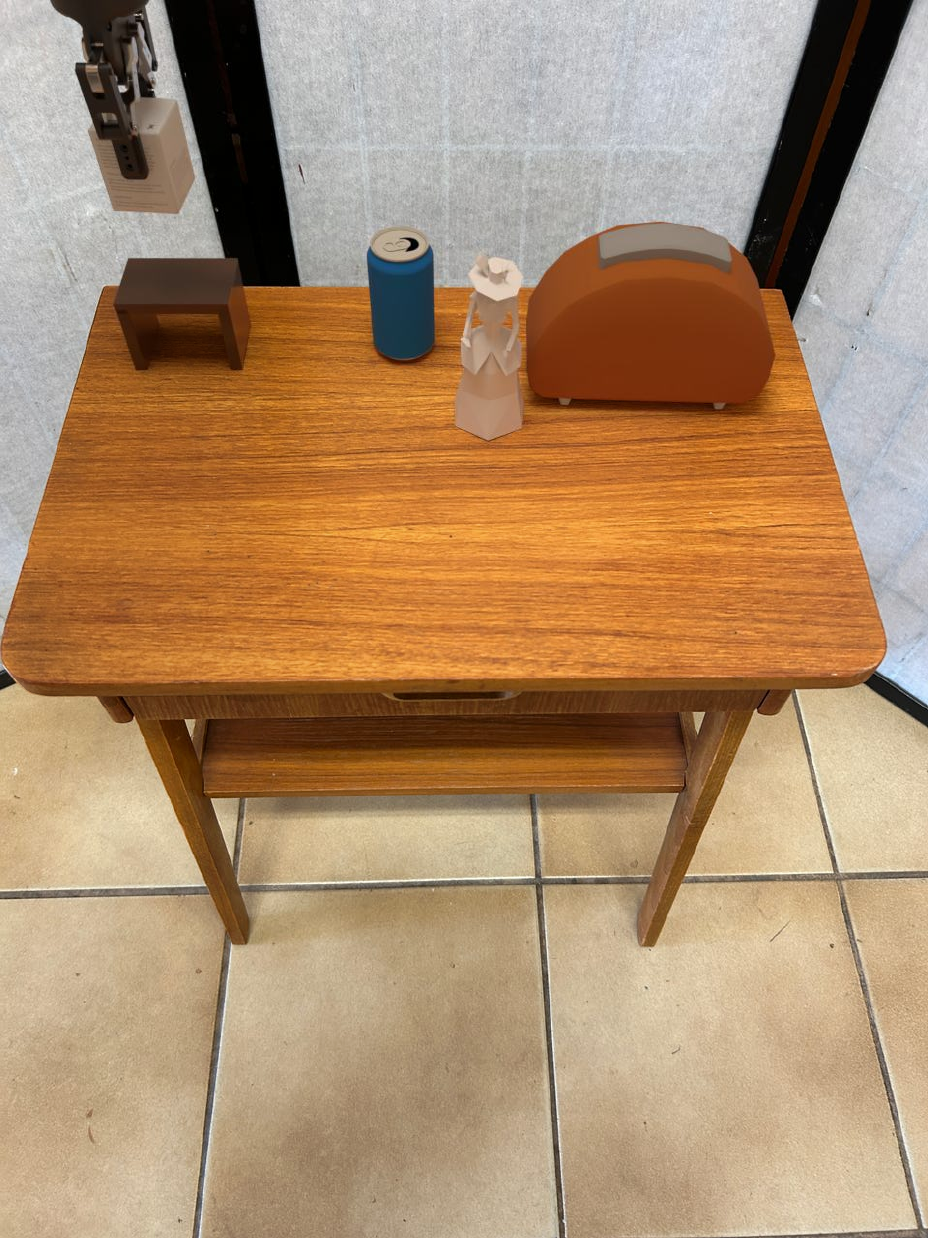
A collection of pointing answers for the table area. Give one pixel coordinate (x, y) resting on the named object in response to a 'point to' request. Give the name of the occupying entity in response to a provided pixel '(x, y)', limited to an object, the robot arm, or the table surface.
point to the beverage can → (401, 292)
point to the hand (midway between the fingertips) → (144, 154)
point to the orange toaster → (649, 320)
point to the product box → (150, 161)
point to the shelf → (181, 301)
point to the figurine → (491, 353)
